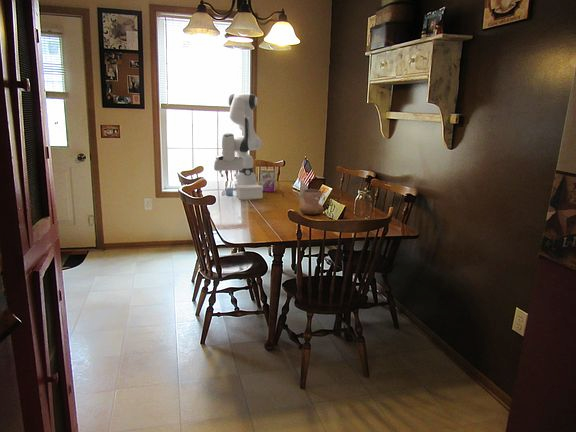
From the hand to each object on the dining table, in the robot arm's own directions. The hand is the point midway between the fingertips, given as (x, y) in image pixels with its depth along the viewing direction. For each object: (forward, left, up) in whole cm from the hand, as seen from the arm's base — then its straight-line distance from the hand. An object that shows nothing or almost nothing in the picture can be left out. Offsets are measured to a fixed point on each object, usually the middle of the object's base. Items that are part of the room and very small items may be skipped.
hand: (228, 176), depth 314 cm
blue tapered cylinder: (0, 0, -13) cm, 13 cm away
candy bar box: (-7, +30, -14) cm, 34 cm away
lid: (+13, +12, -7) cm, 19 cm away
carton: (+12, +12, -13) cm, 22 cm away
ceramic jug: (+65, +39, -14) cm, 77 cm away
